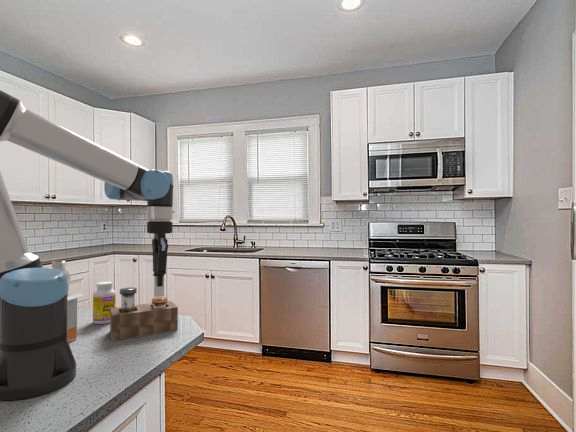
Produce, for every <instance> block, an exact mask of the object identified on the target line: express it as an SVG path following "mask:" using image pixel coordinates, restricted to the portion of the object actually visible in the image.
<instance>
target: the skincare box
mask: <svg viewBox="0 0 576 432" xmlns="http://www.w3.org/2000/svg"><path fill="white" fill-rule="evenodd" d="M77 333H78V297H74V296H68V297H67V341H68V343H70V342H73V341H77V335H78V334H77Z"/></svg>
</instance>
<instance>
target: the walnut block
mask: <svg viewBox="0 0 576 432" xmlns="http://www.w3.org/2000/svg"><path fill="white" fill-rule="evenodd" d="M153 306H154V304H152V302H151V303H143V304H136V305H135V311H131V312H124V313H121V311H122V306H117V307H116V306H115V308H110V323H109V332H111V333H110V337H111V340H112V341H117V340H118V339H119V340H122V339H123V340H125V339H129V338H135V337H136V338H137V337H143V336H149V335H155V334H160V333H168V332H174V331H177V330H178V329H179V328H178V327H179V324H178V322H179V321H178V319H179V317H178V316H179V314H178V313H179V309H178V306H177V305H176V304H175V303H174V301H172V300H167V303H166V307H163V308H155V309H153Z"/></svg>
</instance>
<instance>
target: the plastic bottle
mask: <svg viewBox="0 0 576 432" xmlns="http://www.w3.org/2000/svg"><path fill="white" fill-rule="evenodd" d="M66 267H67V265H66V260H63V259H62V260H52V261H51V268H52V269H58V270H60V271H62V272H64V273H65V275H66V277H67V283H68V292H67V297H69V289H70V285H71V284H70V283H71V274H70V272H69V271H68V270H67V269H66Z"/></svg>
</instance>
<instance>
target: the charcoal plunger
mask: <svg viewBox="0 0 576 432" xmlns="http://www.w3.org/2000/svg"><path fill="white" fill-rule="evenodd" d="M137 291H138V289H137V287H122V288H120V289H119V295H121V307H122V311H121V313H124V312H131V311H135V304H136V301H135V300H136V298H135V297H136V294H137V293H138V292H137Z"/></svg>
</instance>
